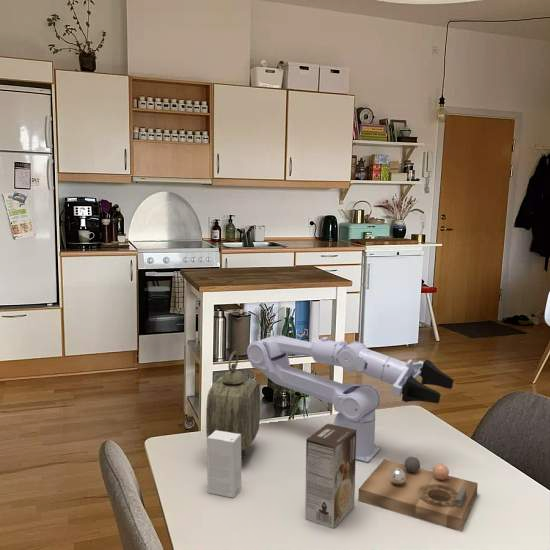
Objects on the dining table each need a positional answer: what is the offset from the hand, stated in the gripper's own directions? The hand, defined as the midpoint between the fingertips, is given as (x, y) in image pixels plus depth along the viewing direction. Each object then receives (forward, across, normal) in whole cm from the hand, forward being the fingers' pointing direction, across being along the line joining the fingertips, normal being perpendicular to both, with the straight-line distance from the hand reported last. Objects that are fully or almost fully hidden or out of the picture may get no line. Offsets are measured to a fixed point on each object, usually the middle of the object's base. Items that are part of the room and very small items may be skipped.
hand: (446, 391), depth 119 cm
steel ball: (-2, -15, +14) cm, 21 cm away
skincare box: (-31, -36, +20) cm, 51 cm away
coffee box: (-9, -29, +18) cm, 35 cm away
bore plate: (+2, -14, +18) cm, 22 cm away
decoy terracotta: (+4, -8, +14) cm, 16 cm away
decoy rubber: (-2, -8, +15) cm, 17 cm away
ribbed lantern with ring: (-39, -23, +23) cm, 51 cm away
